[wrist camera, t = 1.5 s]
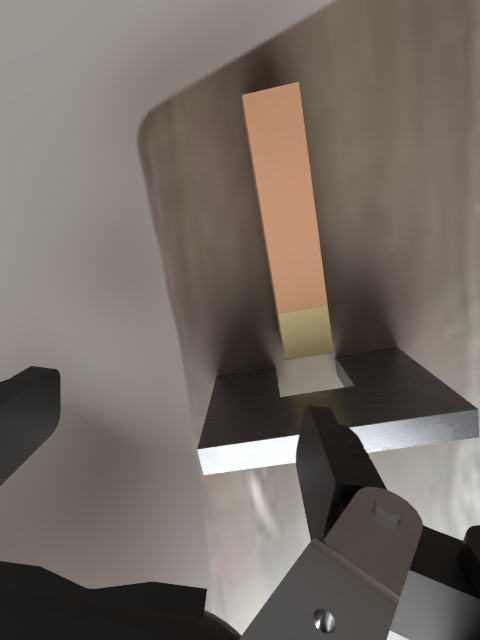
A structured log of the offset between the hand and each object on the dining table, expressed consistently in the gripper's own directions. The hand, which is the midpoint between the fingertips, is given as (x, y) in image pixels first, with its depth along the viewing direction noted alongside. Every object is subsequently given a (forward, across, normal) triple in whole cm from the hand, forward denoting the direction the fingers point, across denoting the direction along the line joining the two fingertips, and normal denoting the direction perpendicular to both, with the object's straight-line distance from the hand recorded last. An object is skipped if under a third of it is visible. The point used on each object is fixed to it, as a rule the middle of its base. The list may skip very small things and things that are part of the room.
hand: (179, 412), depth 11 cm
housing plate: (+22, -9, +6) cm, 24 cm away
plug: (+22, -5, -6) cm, 23 cm away
